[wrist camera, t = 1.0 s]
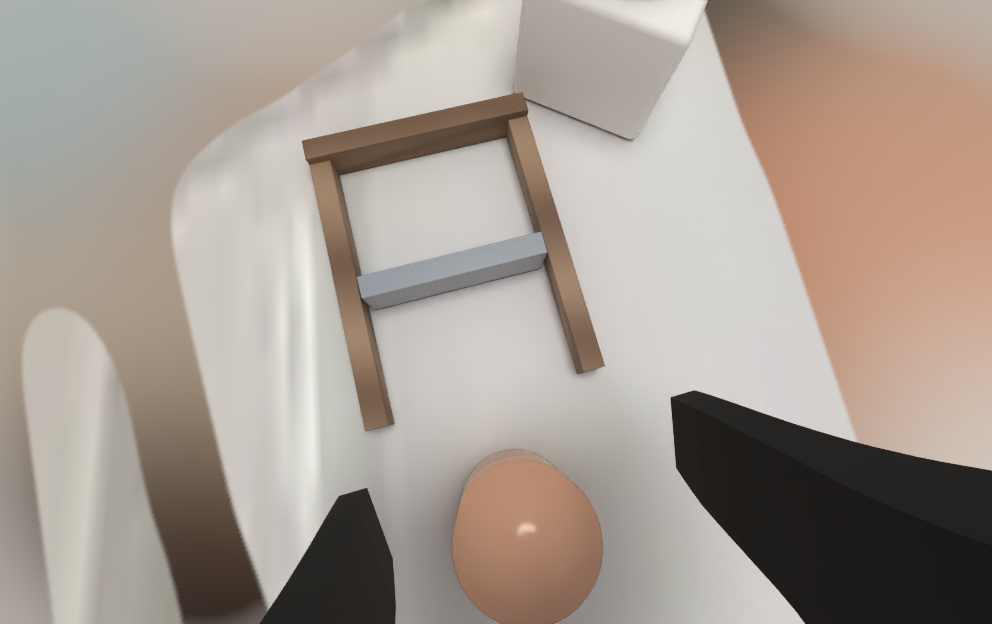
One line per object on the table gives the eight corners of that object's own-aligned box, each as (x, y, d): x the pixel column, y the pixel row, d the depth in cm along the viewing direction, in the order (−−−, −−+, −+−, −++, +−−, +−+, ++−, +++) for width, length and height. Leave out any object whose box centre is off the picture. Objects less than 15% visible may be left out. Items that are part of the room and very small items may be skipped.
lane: (596, 368, 23) (607, 365, 21) (373, 429, 22) (362, 431, 20) (519, 116, 25) (522, 92, 23) (316, 162, 24) (301, 140, 22)
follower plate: (540, 268, 23) (547, 252, 21) (374, 309, 23) (361, 298, 20) (534, 249, 24) (541, 231, 21) (370, 290, 23) (356, 276, 20)
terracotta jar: (583, 547, 21) (622, 602, 15) (475, 579, 21) (473, 649, 15) (552, 436, 22) (577, 448, 16) (448, 465, 22) (436, 488, 16)
